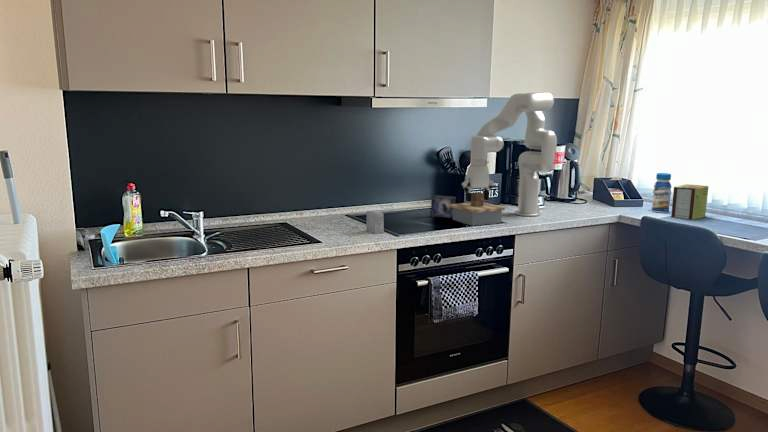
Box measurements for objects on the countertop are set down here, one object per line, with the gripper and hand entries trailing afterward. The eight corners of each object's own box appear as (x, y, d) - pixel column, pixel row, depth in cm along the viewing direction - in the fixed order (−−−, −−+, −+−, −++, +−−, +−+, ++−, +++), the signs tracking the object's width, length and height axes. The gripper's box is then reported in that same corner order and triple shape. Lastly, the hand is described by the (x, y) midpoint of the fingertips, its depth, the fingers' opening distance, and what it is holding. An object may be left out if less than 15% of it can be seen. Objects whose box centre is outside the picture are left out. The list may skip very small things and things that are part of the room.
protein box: (705, 216, 289) (709, 186, 287) (692, 220, 280) (695, 188, 277) (684, 213, 297) (687, 183, 294) (670, 217, 288) (673, 186, 285)
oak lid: (481, 204, 280) (482, 189, 278) (504, 210, 264) (505, 194, 262) (450, 206, 272) (450, 191, 270) (472, 213, 256) (472, 196, 254)
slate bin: (480, 218, 280) (480, 204, 278) (501, 224, 265) (501, 209, 264) (452, 221, 272) (452, 206, 271) (472, 227, 258) (472, 212, 257)
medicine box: (383, 233, 247) (384, 213, 245) (374, 234, 245) (374, 214, 243) (375, 229, 254) (375, 210, 252) (366, 230, 251) (366, 211, 250)
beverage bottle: (671, 211, 303) (675, 173, 299) (665, 213, 297) (669, 174, 293) (654, 209, 308) (658, 172, 305) (648, 211, 303) (652, 173, 299)
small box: (430, 218, 281) (430, 196, 279) (435, 215, 287) (435, 194, 285) (450, 220, 276) (451, 198, 275) (455, 217, 282) (456, 196, 280)
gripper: (489, 162, 271) (487, 198, 274) (458, 163, 263) (457, 200, 266) (499, 163, 264) (497, 200, 268) (467, 164, 257) (466, 202, 260)
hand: (477, 200), depth 267 cm, fingers open, 9 cm apart
